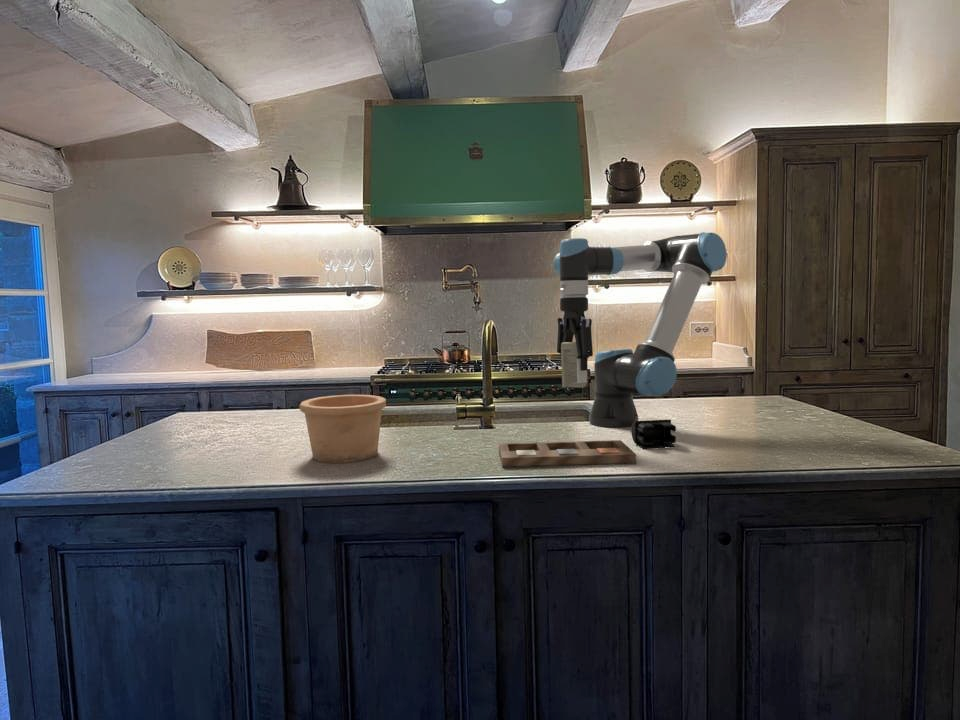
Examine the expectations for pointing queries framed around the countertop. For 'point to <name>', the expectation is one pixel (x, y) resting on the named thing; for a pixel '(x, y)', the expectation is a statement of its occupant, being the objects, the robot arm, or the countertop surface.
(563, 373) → the skincare box
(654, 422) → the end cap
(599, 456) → the socket plate
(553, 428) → the countertop surface
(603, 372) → the robot arm
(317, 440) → the pottery
